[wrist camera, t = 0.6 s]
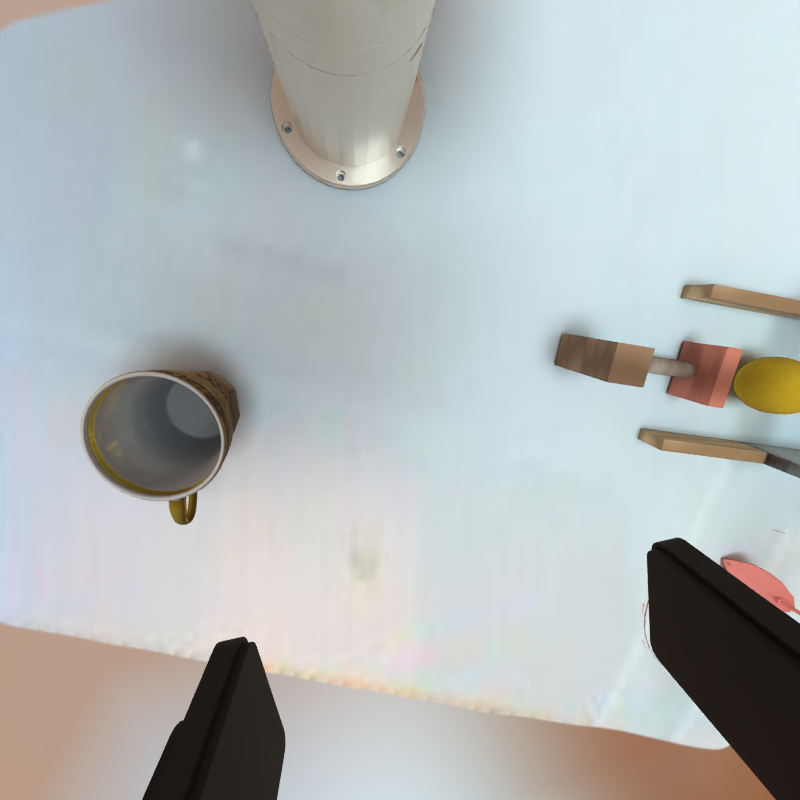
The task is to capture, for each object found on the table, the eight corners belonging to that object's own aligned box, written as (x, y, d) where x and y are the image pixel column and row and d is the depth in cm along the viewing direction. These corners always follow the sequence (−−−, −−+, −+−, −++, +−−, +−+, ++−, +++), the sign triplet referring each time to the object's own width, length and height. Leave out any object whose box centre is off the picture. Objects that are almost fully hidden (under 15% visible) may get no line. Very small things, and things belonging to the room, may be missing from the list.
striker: (565, 321, 41) (622, 327, 32) (697, 343, 42) (784, 355, 34) (552, 376, 42) (603, 396, 33) (681, 395, 44) (761, 419, 35)
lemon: (714, 407, 45) (788, 429, 37) (714, 357, 43) (792, 370, 36) (761, 397, 45) (844, 417, 37) (763, 347, 44) (850, 358, 36)
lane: (684, 285, 41) (714, 284, 38) (786, 304, 43) (824, 305, 39) (637, 438, 45) (661, 450, 41) (733, 451, 46) (763, 463, 43)
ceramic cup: (138, 358, 38) (62, 378, 28) (248, 348, 38) (211, 364, 29) (169, 486, 41) (110, 544, 31) (270, 475, 42) (243, 528, 32)
